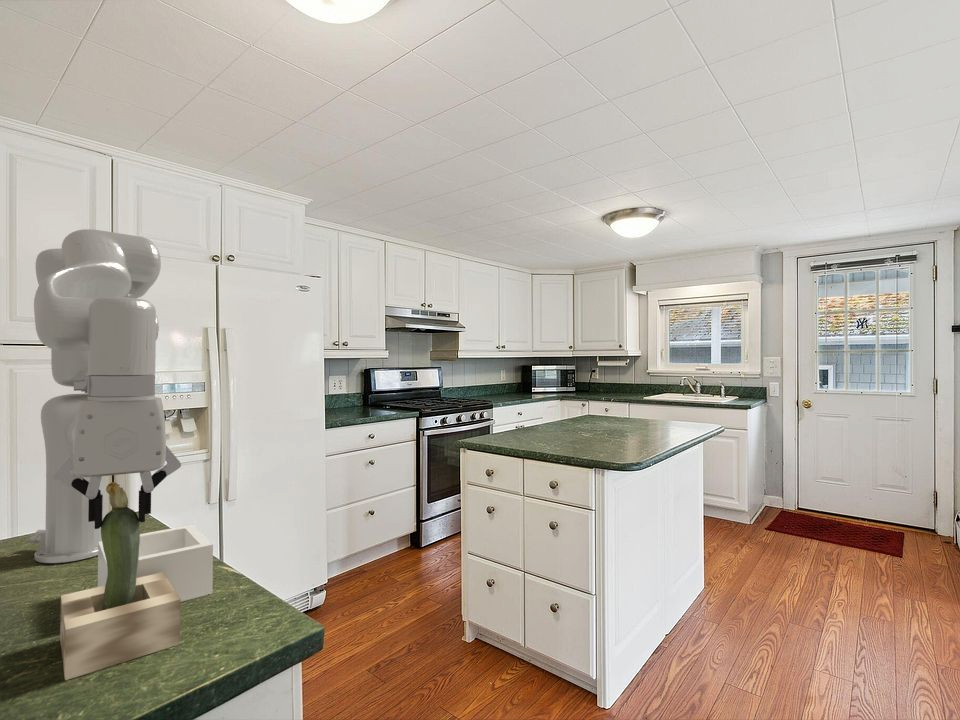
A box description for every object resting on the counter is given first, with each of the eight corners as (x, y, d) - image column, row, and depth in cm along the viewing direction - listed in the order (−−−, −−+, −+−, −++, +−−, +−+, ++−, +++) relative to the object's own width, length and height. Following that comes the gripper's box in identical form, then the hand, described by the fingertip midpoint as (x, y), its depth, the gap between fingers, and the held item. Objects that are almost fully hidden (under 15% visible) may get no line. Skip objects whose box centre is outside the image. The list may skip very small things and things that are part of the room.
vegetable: (132, 615, 72) (135, 474, 73) (143, 625, 70) (146, 479, 70) (94, 627, 69) (97, 480, 69) (104, 639, 66) (107, 485, 66)
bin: (107, 621, 74) (107, 566, 74) (97, 589, 85) (98, 541, 85) (212, 593, 84) (212, 544, 84) (192, 568, 94) (192, 524, 94)
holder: (65, 680, 60) (65, 629, 60) (60, 639, 69) (60, 595, 69) (180, 644, 68) (180, 599, 68) (162, 611, 77) (163, 572, 77)
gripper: (37, 391, 62) (34, 543, 62) (195, 388, 71) (193, 520, 71) (45, 388, 68) (43, 526, 68) (190, 386, 77) (188, 506, 77)
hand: (120, 521), depth 69 cm, fingers closed on vegetable, 4 cm apart
